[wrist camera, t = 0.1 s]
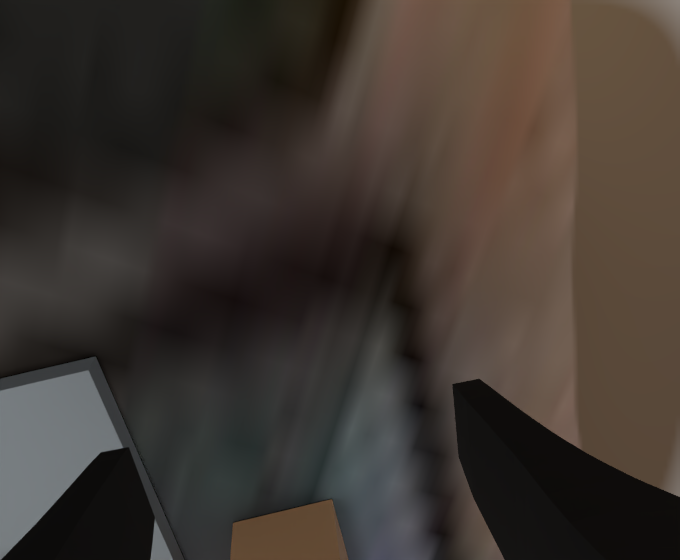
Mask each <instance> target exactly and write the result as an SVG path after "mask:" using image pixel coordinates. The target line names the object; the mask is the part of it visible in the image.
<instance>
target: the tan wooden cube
mask: <svg viewBox="0 0 680 560" xmlns="http://www.w3.org/2000/svg"><path fill="white" fill-rule="evenodd" d="M230 560H349V559H348V556H347V552H346V548H345V545H344V541H343V537H342V534H341V530H340V526H339V523H338V519H337V516H336V512H335V508H334V505H333V501H332V499H330V500H326V501H322V502H318V503H314V504H309V505H305V506H301V507H297V508H293V509H289V510H284V511H280V512H276V513H272V514H268V515H264V516H260V517H255V518H251V519H247V520H243V521H239V522H235V523H233V530H232V544H231V557H230Z"/></svg>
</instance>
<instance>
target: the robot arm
mask: <svg viewBox="0 0 680 560" xmlns="http://www.w3.org/2000/svg"><path fill="white" fill-rule="evenodd" d="M453 396H454V407H455V419H456V431H457V442H458V454H459V459H460V462H461V464H462V467H463V470H464V473H465V476H466V479H467V481H468V484H469V487H470V489H471V492H472V495H473V497H474V500H475V502H476V504H477V506H478V508H479V510H480V512H481V514H482V516H483V518H484V520H485V522H486V524H487V526H488V528H489V530H490V532H491V534H492V535H493V537H494V539H495V541H496V543H497V545H498V547H499V549H500V551H501V553H502V555H503V557H504V559H505V560H680V497H678V496H676V495H673V494H671V493H668V492H666V491H664V490H661V489H659V488H657V487H654V486H652V485H650V484H647V483H645V482H643V481H641V480H638V479H636V478H634V477H632V476H630V475H627V474H626V473H624V472H622V471H620V470H618V469H616V468H614V467H612V466H609V465H608V464H606V463H604V462H602V461H600V460H598V459H596V458H594V457H593V456H591V455H589V454H587V453H585V452H584V451H582V450H580V449H579V448H577V447H575V446H574V445H572V444H570V443H569V442H567V441H566V440H564V439H562V438H561V437H559V436H557V435H556V434H554V433H553V432H551V431H550V430H548V429H547V428H546V427H544V426H543V425H541V424H540V423H538V422H537V421H535V420H534V419H532V418H531V417H530V416H528V415H527V414H525V413H524V412H523V411H521V410H520V409H519V408H517V407H516V406H515V405H513V404H512V403H511V402H509V401H508V400H507V399H505V398H504V397H503V396H501V395H500V394H499V393H497V392H496V391H495V390H493V389H492V388H491V387H490V386H488V385H487V384H485V383H484V382H483V381H481V380H480V379H476V380H471V381H466V382H461V383H456V384H453ZM154 523H155V516H154V513H153V511H152V508H151V505H150V503H149V500H148V497H147V494H146V492H145V489H144V486H143V484H142V481H141V478H140V476H139V473H138V470H137V468H136V465H135V462H134V460H133V457H132V454H131V452H130V449H129V447H126V448H121V449H115V450H110V451H105V452H101V453H100V454H99V455H98V456H97V457H96V458H95V459H94V460H93V461H92V462H91V463H90V464H89V465H88V466H87V467H86V469H85V470H84V471H83V472H82V473H81V474H80V475H79V476H78V477H77V479H76V480H75V481H74V482H73V483H72V484H71V485H70V487H69V488H68V489H67V490H66V491H65V492H64V493H63V494H62V496H61V497H60V498H59V499H58V500H57V501H56V502H55V503H54V504H53V505H52V507H51V508H50V509H49V510H48V511H47V512H46V513H45V514H44V515H43V516H42V518H41V519H40V520H39V521H38V522H37V523H36V524H35V525H34V526H33V527H32V528H31V529H30V530H29V531H28V532H27V533H26V534H25V536H24V537H23V538H22V539H21V540H20V541H19V542H18V543H17V544H16V545H15V546H14V547H13V548H12V549H11V550H10V551H9V552H8V553H7V554H6V555H5V556H4V557H3V558H2V559H1V560H150V559H151V551H152V543H153V533H154Z"/></svg>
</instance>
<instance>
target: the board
mask: <svg viewBox="0 0 680 560" xmlns="http://www.w3.org/2000/svg"><path fill="white" fill-rule="evenodd" d="M126 447H129V449H130V452H131V454H132V457H133V460H134V462H135V465H136V468H137V470H138V473H139V476H140V478H141V481H142V484H143V486H144V489H145V492H146V494H147V497H148V500H149V503H150V505H151V508H152V511H153V513H154V516H155V523H154V533H153V543H152V551H151V559H150V560H184V558H183V555H182V553H181V551H180V548H179V546H178V544H177V542H176V539H175V537H174V535H173V532H172V530H171V528H170V526H169V523H168V521H167V519H166V516H165V514H164V512H163V509H162V507H161V505H160V503H159V500H158V498H157V496H156V493H155V491H154V489H153V487H152V484H151V482H150V480H149V477H148V475H147V473H146V470H145V468H144V466H143V464H142V461H141V459H140V457H139V454H138V452H137V450H136V448H135V445H134V443H133V441H132V438H131V436H130V434H129V431H128V429H127V427H126V425H125V422H124V420H123V418H122V415H121V413H120V411H119V409H118V406H117V404H116V402H115V399H114V397H113V395H112V392H111V390H110V388H109V386H108V383H107V381H106V379H105V376H104V374H103V372H102V370H101V367H100V365H99V363H98V360H97V358H96V356H95V357H91V358H87V359H83V360H78V361H74V362H70V363H65V364H61V365H57V366H52V367H48V368H44V369H40V370H35V371H31V372H27V373H22V374H18V375H14V376H9V377H5V378H1V379H0V560H1V559H2V558H3V557H4V556H5V555H6V554H7V553H8V552H9V551H10V550H11V549H12V548H13V547H14V546H15V545H16V544H17V543H18V542H19V541H20V540H21V539H22V538H23V537H24V536H25V534H26V533H27V532H28V531H29V530H30V529H31V528H32V527H33V526H34V525H35V524H36V523H37V522H38V521H39V520H40V519H41V518H42V516H43V515H44V514H45V513H46V512H47V511H48V510H49V509H50V508H51V507H52V505H53V504H54V503H55V502H56V501H57V500H58V499H59V498H60V497H61V496H62V494H63V493H64V492H65V491H66V490H67V489H68V488H69V487H70V485H71V484H72V483H73V482H74V481H75V480H76V479H77V477H78V476H79V475H80V474H81V473H82V472H83V471H84V470H85V469H86V467H87V466H88V465H89V464H90V463H91V462H92V461H93V460H94V459H95V458H96V457H97V456H98V455H99V454H100V453H101V452H105V451H110V450H115V449H121V448H126Z"/></svg>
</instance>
